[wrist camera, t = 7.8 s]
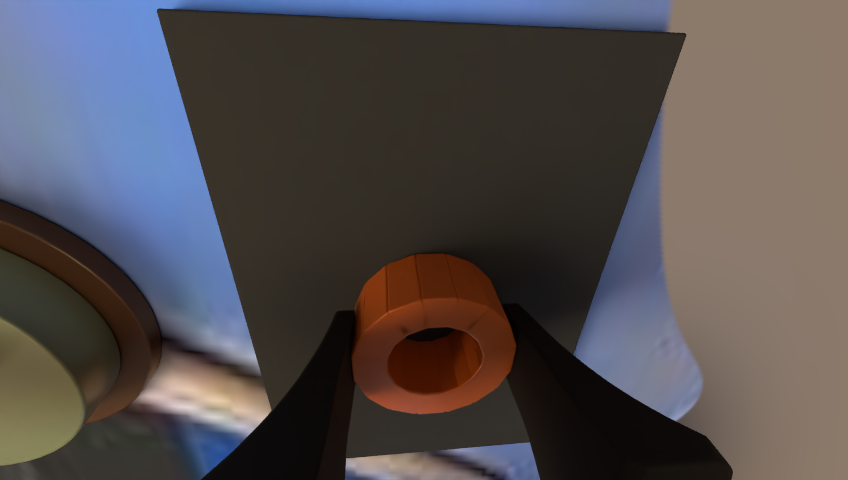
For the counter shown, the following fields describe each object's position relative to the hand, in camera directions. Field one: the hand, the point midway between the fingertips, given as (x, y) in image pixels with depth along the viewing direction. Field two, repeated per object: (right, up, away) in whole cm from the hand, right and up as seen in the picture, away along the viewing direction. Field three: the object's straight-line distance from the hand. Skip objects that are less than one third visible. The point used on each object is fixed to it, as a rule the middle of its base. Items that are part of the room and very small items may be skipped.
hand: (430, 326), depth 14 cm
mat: (0, +1, +1) cm, 1 cm away
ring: (0, 0, +1) cm, 1 cm away
